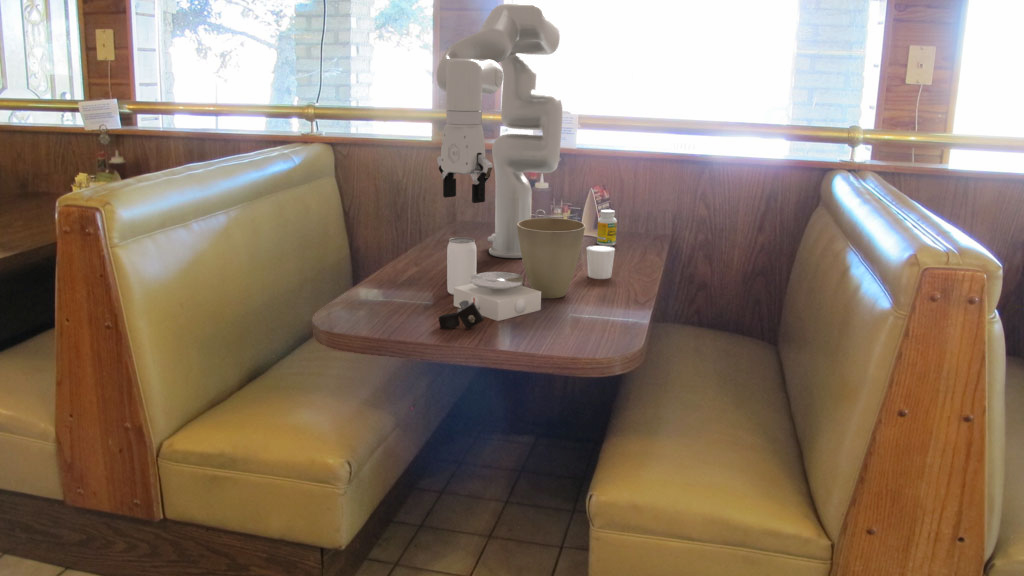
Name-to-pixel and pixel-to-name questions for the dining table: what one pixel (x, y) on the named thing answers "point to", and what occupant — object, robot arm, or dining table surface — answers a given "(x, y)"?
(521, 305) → the scale housing
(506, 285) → the scale pan
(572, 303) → the dining table surface
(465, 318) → the lighter
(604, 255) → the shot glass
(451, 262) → the can
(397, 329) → the dining table surface
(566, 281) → the plant pot
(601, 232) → the supplement bottle
